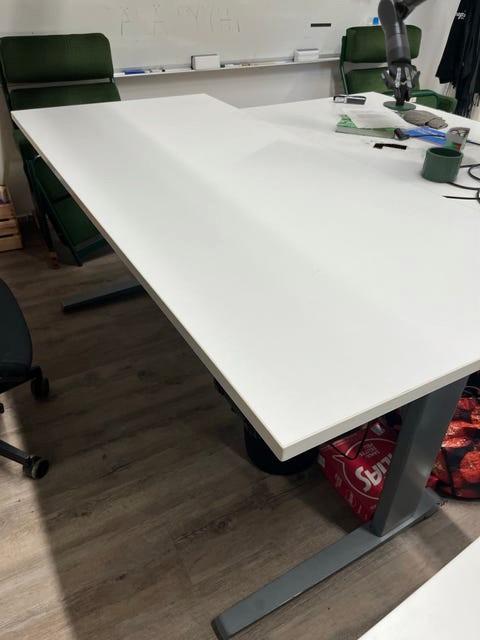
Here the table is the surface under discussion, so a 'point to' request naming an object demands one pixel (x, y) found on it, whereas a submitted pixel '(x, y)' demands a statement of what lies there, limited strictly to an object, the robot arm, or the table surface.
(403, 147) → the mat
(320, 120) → the table surface
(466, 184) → the table surface
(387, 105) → the lid
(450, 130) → the food container
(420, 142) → the table surface
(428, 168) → the pot
